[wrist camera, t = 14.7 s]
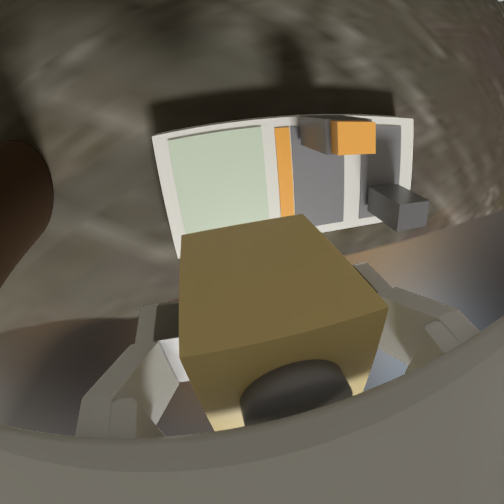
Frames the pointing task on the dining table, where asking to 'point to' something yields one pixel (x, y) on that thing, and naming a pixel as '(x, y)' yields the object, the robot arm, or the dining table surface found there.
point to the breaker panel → (274, 174)
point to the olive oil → (21, 202)
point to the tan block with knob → (273, 321)
